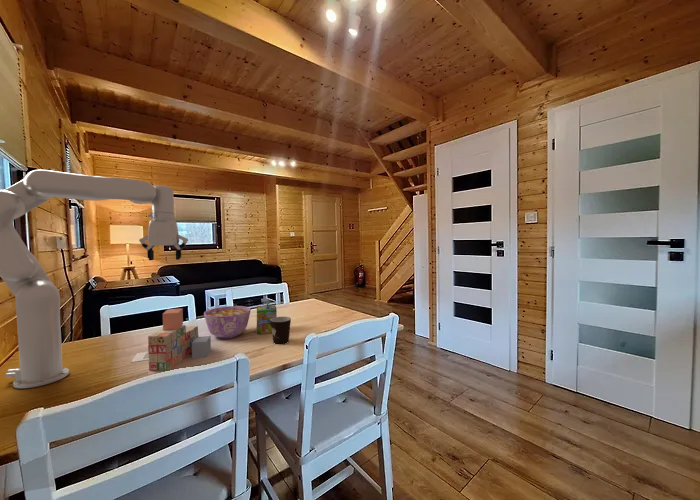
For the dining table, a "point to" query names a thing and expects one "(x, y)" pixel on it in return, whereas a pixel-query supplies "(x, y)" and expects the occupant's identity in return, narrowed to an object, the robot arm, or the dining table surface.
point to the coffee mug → (280, 329)
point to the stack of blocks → (170, 347)
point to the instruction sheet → (141, 357)
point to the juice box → (265, 318)
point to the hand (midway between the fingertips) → (164, 259)
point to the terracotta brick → (172, 319)
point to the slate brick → (201, 347)
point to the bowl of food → (227, 320)
